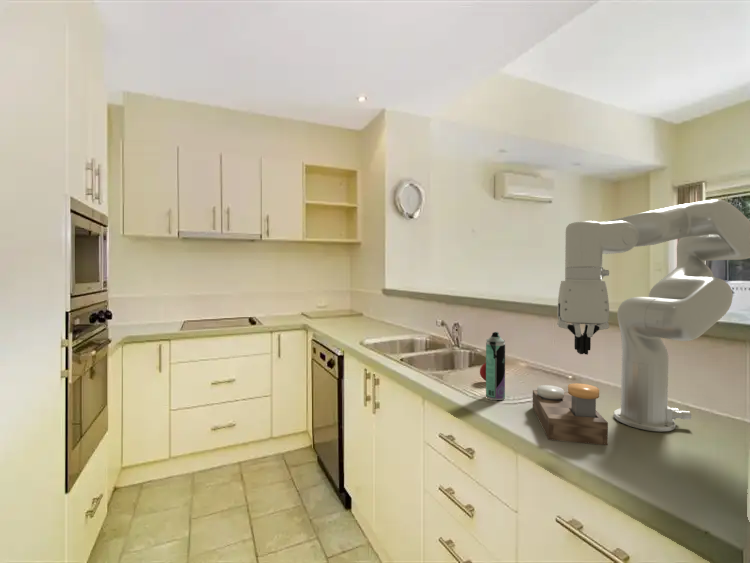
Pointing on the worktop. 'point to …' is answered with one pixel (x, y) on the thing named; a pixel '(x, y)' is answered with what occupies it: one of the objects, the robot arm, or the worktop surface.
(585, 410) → the orange button
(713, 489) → the worktop surface
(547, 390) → the white button
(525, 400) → the worktop surface
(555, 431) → the button panel
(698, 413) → the worktop surface
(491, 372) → the spray can
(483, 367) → the onion
